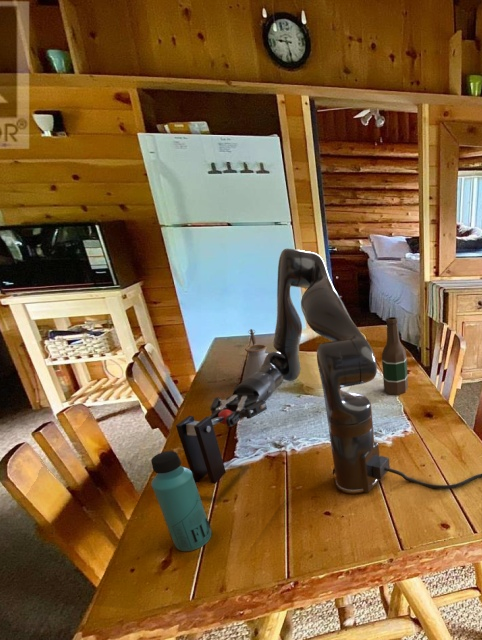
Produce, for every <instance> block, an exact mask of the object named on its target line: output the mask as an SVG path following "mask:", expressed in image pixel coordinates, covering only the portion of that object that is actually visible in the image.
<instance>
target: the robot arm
mask: <svg viewBox="0 0 482 640" xmlns="http://www.w3.org/2000/svg"><path fill="white" fill-rule="evenodd" d="M277 264H278V265H277V288H276V323H275V330H274V335H273V336H274V337H273V342H272V343H273V348H274V350H275V351H270V352H269V353H267V354H266V355H267V356H266V358H265V360H264V363H263V365H262V367H261V368H260V369H259V370H258V371H257V372H256V373H254V374H252V375H251V376H249V377H248V378H247V379H245V380H243V381H241V382H240V383H239V384H238V385H237V386H236V387H235V388H234V389H233V391H232V395H230V396H228V397H226V398H225V399H220V397H215V398H213V400H212V403H211V405H210V407H209V409H210V412H211V415H210V416H209V417H211V419H214V418H217V417H218V414H219V412H220V411H222V410H230V411H232V412H233V413H232V414H231V415H229V416H228V417H227V418H226V423H227V425H226V426H227V427H229V428H230V427H233V426H234V425H236V424H237V423H238V422H239V421H240V420H241V421H242V420H244V419H245V418H246V419H247V420H250V419H252V418H254V417H256V416H257V415H259V414H261V413H263V412H265V411H266V410H267V409H268V407H267V403H266V401H267V400H269V398H271V396H272V395H273V393H274V392H276V391H277V389H278V388H279V387H280V386H281V385H282V384H283V381H287V382H293V381H295V380H297V379H298V377H299V376H300V374H301V372H302V371H301V370H302V366H301V367H300V362H299V355H298V354H300V343H301V338H302V333H303V325H302V320H301V317H300V315H299V313H298V311H297V309H296V307H295V305H294V303H293V301H292V297H291V287H292V288H293V287H294V288H300V289H305V291H304V292H303V294H302V296H301V300H300V308H301V311H302V314H303V316H304V318H305V321H306V324H307V326H309V328H310V329H311V330H312V331H313V332H315V333H316V334H317V335H319V336H320V337H322V338H324V339H327V340H329V341H326V342H322V343H320V344H319V345H318V347H317V350H316V362H317V368H318V371H319V373H318V374H319V377H320V378H319V379H320V382H321V386H322V392H323V398H324V405H325V412H326V413H325V414H326V419H327V427H328V433H329V441H330V447H331V448H330V449H331V455H332V461H333V468H332V475H333V476H335V485H336V487H337V489H338V490H339V491H341V492H342V493H346V494H353V495H354V494H355V495H356V494H361V493H365V494H369V493H370V492H371V491H372V490H373V488H374V487H376V485H377V484H378V483H379V481H381V480H382V479H383V478H384V477H385V476H386V474H387V473H388V472H389V473H392V474H395V475H398V476H400V477H402V479H404V480H405V481H408V482H410V483H414V484H417V485H420V486H424V487H427V488H430V489H435V490H436V489H437V490H450V489H456V488H460V487H462V486H465V485H467V484H469V483H471V482H472V481H474V480H477V479H480V478H482V473H479V474H475V475H473V476H471V477H469V478H466V479H465V480H463V481H461V482H460V481H459V482H458V483H453V484H444V485H443V484H442V485H441V484H440V485H439V484H430V483H426V482H422V481H420V480H417V479H414V478H412V477H409V476H407V475H406V474H405V472H402V471H401V470H400V471H399V470H397V469H394V468H391V467H390V458H389V457H387V456H383V455H380V446H379V443H378V442H375V433H374V422H373V411H372V404H371V401H370V399H369V398H368V397H366V396H365V395H363V394H361V393H360V394H359V393H354V392H349V391H344V390H342V388H348V387H353V386H358V385H364V384H367V383H369V382H372V381H373V380H374V379H375V377H376V375H377V372H378V365H377V359H376V356H375V353H374V350H373V348H372V346H371V345H370V343H369V342H368V340H367V339H366V338H365V336H364V334H363V333H362V332H361V330H360V329H359V328H358V327H357V325H356V324H355V323H354V321H353V320H352V318H351V316H350V313H349V312H348V310H347V308H346V306H345V303H344V302H343V300H342V298H341V296H340V295H339V294H338V292H337V290H336V289H335V287H334V284H333V282H332V280H331V278H330V275H329V272H328V270H327V266H326V265H325V262H324V260H323V258H322V257H321V255H319V254H318V253H316V252H311V251H305V250H300V249H294V248H284V249H283V250H282V251H281V253H280V255H279V258H278V263H277ZM251 411H252V412H251ZM216 425H217V424H214V425H213V427H214V426H216Z"/></svg>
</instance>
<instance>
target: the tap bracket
mask: <svg viewBox="0 0 482 640" xmlns="http://www.w3.org/2000/svg"><path fill="white" fill-rule="evenodd" d="M194 421H196V420H195V417H194V415H188V416H186V417H185V418H184V419H182V420H181V421H180V422H179V423H177V424H176V425H175V427H176V431H177V434H178V437H179V440H180V443H181V447H182V449H183V452H184V456H185V458H186V462H187V465H188V469H190V470H191V471H192V474H193V478H194V481H195V483H196V484H198V483H200V482H201V481H202V480H203V478H205V477H206V476H207V475H208V478H209V481H210V484H213V485H216V484H217V482H218V481H219V480H220V479H221V478H222V477H224V475H225V474H226V473H227V471H226V466H225V464H224V460H223V456H222V453H221V450H220V445H219V443H218V439H217V435H216V431H215V428H214V426H213V424H212V421H211V417H210V416H205V417H204V418H203V419H201V420H200V422H199V423H198V424H196V425H195V426H194V429H195V432H196V435H197V436H193V435H187V430H186V424H188V423H191V422H194Z"/></svg>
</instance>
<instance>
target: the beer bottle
mask: <svg viewBox="0 0 482 640" xmlns="http://www.w3.org/2000/svg"><path fill="white" fill-rule="evenodd" d="M385 323H386V344H385V346H384V347H383V350H382V353H381V364H382V378H383V389H384V392H385V393H387V394H389V395H391V396H394V395H395V396H399V395H402V394H405V393H407V390H408V388H409V381H408V379H409V378H408V359H407V358H408V357H407V351H406V349H405V346H403V345H402V343H401V340H400V333H399V324H398V323H399V318H398V317H395V316H389V317H387V318H386V320H385Z"/></svg>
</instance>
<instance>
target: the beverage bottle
mask: <svg viewBox="0 0 482 640" xmlns="http://www.w3.org/2000/svg"><path fill="white" fill-rule="evenodd" d="M181 465H182V460H181V459H180V456H179V455H178V453H177V452H176V451H174V450H165V451H162V452H159V453H158V454H157V453H156V454H155V455H154V456H153V457H152V458H151V466H152V471H153V472H154V473H156V475H155V476H154V477H153V478H152V480H151V483H150V484H151V485H150V486H151V488H152V489H153V492H154V495H155V497H156V500H157V502H158V505H159V508H160V510H161V513H162V516H163V520H164V522H165V525H166V528H167V530H168V533H169V536H170V539H171V540H172V543H173V545H174V547H175V548H176V549H177V550H179V551H181V552H192V551H195V550H197V549H200V548H201V547H203V546H205V545H206V544H208V542H209V541H210V540H211V538H212V533H213V532H212V526H211V525H210V524H211V523H210V520H209V519H210V518H209V516H208V514H207V512H206V509H205V506H204V504H203V502H202V497H201V494H200V490H199V487H198V485H197V483H196V482H195V481H194V478H193V474H192V471H191V470H190V468H189V467H185V466H181Z"/></svg>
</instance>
